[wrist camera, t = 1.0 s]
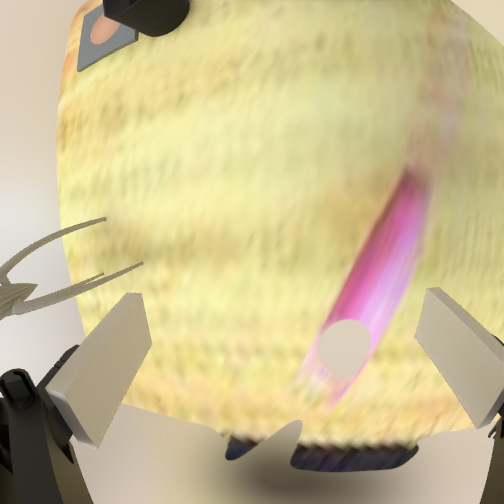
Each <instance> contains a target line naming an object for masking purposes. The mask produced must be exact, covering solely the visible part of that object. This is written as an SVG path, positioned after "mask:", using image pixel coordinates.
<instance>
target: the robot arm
mask: <svg viewBox="0 0 504 504" xmlns="http://www.w3.org/2000/svg"><path fill="white" fill-rule="evenodd" d="M415 338H416V340H417V341H418V342H419V344H420V345H421V346H422V348H423V349H424V350H425V352H426V353H427V355H428V356H429V357H430V359H431V360H432V362H433V363H434V364H435V366H436V367H437V369H438V370H439V372H440V373H441V374H442V376H443V377H444V379H445V380H446V382H447V383H448V385H449V386H450V388H451V389H452V391H453V392H454V394H455V395H456V397H457V398H458V400H459V401H460V403H461V405H462V406H463V408H464V409H465V411H466V412H467V414H468V416H469V417H470V419H471V421H472V422H473V424H474V425H475V427H476V429H479V428H482V427H483V426H486V425H488V424H490V423H491V421H492V420H493V419H494V417H495V416H496V414H497V413H499V414H500V416H501V417H500V419H499V420H498V422H497V423H496V425H495V426H494V427H493V429H492V430H491V431H490V433H489V435H488V437H489V438H490V437H491V435H492V434H493V433H494V432H495V431H496V434H495V436H494V437H493V439H495V441H494V447H493V453H492V458H491V463H490V467H489V472H488V476H487V480H486V484H485V488H484V491H483V495H482V498H481V501H480V504H504V344H503V343H502V342H501V341H500V340H499V339H498V338H497V337H496V336H494V335H492V334H490V333H489V332H488V331H487V330H486V329H485V328H484V327H483V326H482V325H481V324H480V323H479V322H478V321H477V320H476V319H475V318H473V317H472V316H471V315H470V314H469V313H468V312H467V311H466V310H465V309H464V308H462V307H461V306H460V305H459V304H458V303H457V302H456V301H455V300H453V299H452V298H451V297H450V296H449V295H448V294H446V293H445V292H444V291H443V290H442V289H441V288H439V287H436V288H427V291H426V295H425V300H424V304H423V308H422V312H421V316H420V320H419V324H418V327H417V331H416V334H415ZM151 345H152V340H151V336H150V331H149V327H148V322H147V318H146V313H145V308H144V303H143V298H142V293H126V294H125V295H124V296H123V298H122V299H121V300H120V301H119V302H118V303H117V304H116V305H115V306H114V307H113V308H112V309H111V311H110V312H109V313H108V314H107V315H106V316H105V317H104V318H103V319H102V321H101V322H100V323H99V324H98V325H97V326H96V327H95V329H94V330H93V331H92V332H91V333H90V334H89V335H88V337H87V338H86V339H85V340H84V341H83V342H82V344H81V345H75V346H73V347H72V348H70V349H69V350H67V351H66V352H65V353H64V354H63V356H62V357H61V358H60V360H59V361H57V362H56V364H55V365H54V367H52V368H51V370H50V371H49V372H48V373H47V374H46V376H45V377H44V378H43V379H42V380H41V381H40V383H39V384H38V385H37V386H36V387H35V385H34V383H33V381H32V380H31V378H30V376H29V374H28V372H27V371H25V370H23V369H12V370H10V371H7V372H6V373H4V374H3V375H2V376H1V377H0V392H1V393H2V395H3V396H4V398H0V504H93V501H92V499H91V496H90V494H89V492H88V489H87V486H86V484H85V481H84V479H83V476H82V473H81V470H80V467H79V464H78V461H77V458H76V455H75V452H74V449H73V446H72V444H71V442H70V441H69V440H70V438H71V436H72V434H73V435H74V436H75V437H76V439H77V440H78V442H79V443H80V444H82V445H85V446H88V447H91V448H95V449H98V448H99V446H100V444H101V441H102V439H103V437H104V435H105V433H106V431H107V429H108V427H109V425H110V423H111V421H112V419H113V417H114V415H115V413H116V411H117V409H118V407H119V406H120V404H121V402H122V400H123V398H124V396H125V394H126V392H127V390H128V388H129V386H130V384H131V382H132V381H133V379H134V377H135V375H136V373H137V371H138V369H139V367H140V366H141V364H142V362H143V360H144V358H145V356H146V354H147V353H148V351H149V349H150V347H151Z"/></svg>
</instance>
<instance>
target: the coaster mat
mask: <svg viewBox="0 0 504 504" xmlns="http://www.w3.org/2000/svg"><path fill="white" fill-rule="evenodd" d="M136 41H138V31H136V30H134V29H132V28H130V27H128V26H125V25H123V24H121V23H118V22H116V21H114V20H111V19H109V18H107V17H105V16H104V9H103V4H102V5H100V6H98V7H97V8H95V9H94V10H92V11H91V12H89V13H88V14H86V15H85V16H84V20H83V26H82V32H81V39H80V47H79V55H78V65H77V71H78V72H81V71H82V70H84V69H85V68H87V67H89V66H90V65H92V64H94V63H96V62H97V61H99V60H101V59H103V58H104V57H106V56H108V55H110V54H112V53H114V52H115V51H117V50H119V49H121V48H123V47H125V46H127V45H129V44H131V43H133V42H136Z"/></svg>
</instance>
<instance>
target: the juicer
mask: <svg viewBox="0 0 504 504" xmlns="http://www.w3.org/2000/svg"><path fill="white" fill-rule="evenodd" d="M102 221H106V218H105V217H104V218H99V219H95V220H91V221H88V222H84V223H81V224H77V225H74V226H71V227H69V228H66V229H63V230H60V231H58V232H56V233H53V234H51V235H49V236H47V237H45V238H43V239H41V240H39V241H37V242H35V243H33V244H31V245H30V246H28V247H26V248H25V249H23V250H22V251H20V252H19V253H17V254H16V255H15V256H14V257H12V258H11V259H10V260H9V261H7V262H6V263H5V264H4V265H3V266H2V267H0V283H1V284H2V286H0V320H2V319H3V318H4V317H6V316H10V315H14V314H15V315H21V314H24V313H27V312H31V311H34V310H37V309H40V308H43V307H46V306H49V305H52V304H55V303H58V302H60V301H63V300H66V299H68V298H71V297H73V296H76V295H78V294H81V293H83V292H85V291H88V290H90V289H92V288H95V287H97V286H99V285H101V284H104V283H106V282H108V281H110V280H112V279H114V278H116V277H118V276H120V275H122V274H124V273H126V272H129V271H131V270H133V269H135V268H137V267H139V266H141V265H143V263H142V262H141V263H138V264H136V265H134V266H131V267H129V268H127V269H124V270H122V271H119V272H117V273H115V274H112V275H110V276H107V277H104V278H102V279H99V280H97V281H94V282H91V283H88V282H90V281H92V280H94V279H96V278H98V277H100V276H102V275H104V273H102V274H99V275H97V276H94V277H92V278H90V279H87V280H85V281H82V282H80V283H78V284H75V285H73V286H70V287H67V288H65V289H62V290H60V291H57V292H54V293H51V294H48V295H46V296H43V297H40V298H36V299H33V300H30V301H25V302H23V301H24V300H25V299H26V298H27V297H28V296H29V295H30V294H31V293H32V292H33V291H34V289H35V288H36V287H37V284H29V283H28V284H27V283H18V284H11V283H10V281H9V280H8V278H7V276H6V275H7V273H8V272H9V271H10V270H11V269H12V268H13V267H14V266H15V265H16V264H17V263H19V262H20V261H21V260H22V259H23V258H24V257H26V256H27V255H29V254H30V253H31V252H33V251H34V250H36V249H38V248H39V247H41V246H42V245H44V244H46V243H48V242H50V241H52V240H54V239H56V238H59V237H61V236H63V235H65V234H68V233H70V232H73V231H75V230H78V229H81V228H84V227H87V226H90V225H93V224H96V223H99V222H102ZM86 283H88V284H86ZM84 284H85V285H84ZM82 285H83V286H82Z"/></svg>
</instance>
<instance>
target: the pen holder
mask: <svg viewBox="0 0 504 504" xmlns="http://www.w3.org/2000/svg"><path fill="white" fill-rule="evenodd" d="M188 8H189V2H188V0H103V9H104V16H105V17H107V18H109V19H111V20H114V21H116V22H118V23H121V24H123V25H125V26H128V27H130V28H132V29H134V30H136V31H139V32H141V33H143V34H145V35H148V36H160V35H163V34H166V33H168V32H170V31H171V30H173V29H174V28H176V27H177V26H178V25H179V24H180V23H181V22H182V21H183V19H184V18H185V16H186V14H187V12H188Z"/></svg>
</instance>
